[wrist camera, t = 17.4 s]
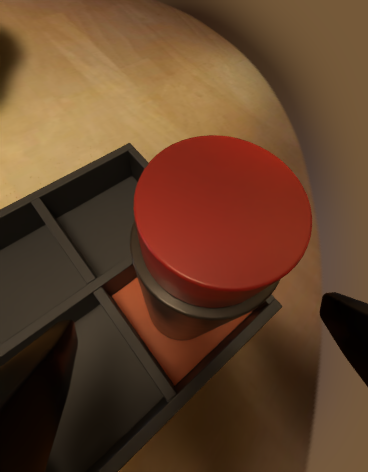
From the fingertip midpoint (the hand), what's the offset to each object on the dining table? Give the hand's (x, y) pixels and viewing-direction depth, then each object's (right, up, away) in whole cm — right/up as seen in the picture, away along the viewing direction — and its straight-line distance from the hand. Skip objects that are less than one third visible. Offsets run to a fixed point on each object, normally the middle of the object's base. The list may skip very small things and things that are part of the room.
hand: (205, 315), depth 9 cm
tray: (-6, -1, +9) cm, 11 cm away
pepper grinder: (-1, -2, +8) cm, 9 cm away
